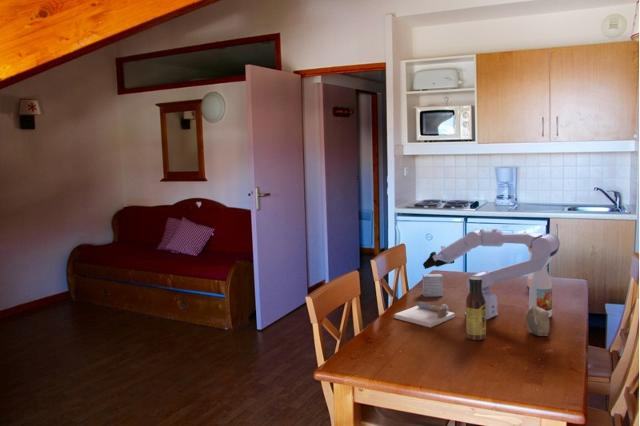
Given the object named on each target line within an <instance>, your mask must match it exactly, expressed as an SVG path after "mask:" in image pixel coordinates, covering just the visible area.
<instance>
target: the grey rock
mask: <svg viewBox="0 0 640 426" xmlns="http://www.w3.org/2000/svg"><path fill="white" fill-rule="evenodd" d="M548 315H549V313H548V312H547V311H546V310H544V309H542V308H539V307H537V306H532V308H531V309H530V310H529V309H528V310H527V313H526V316H525V320H526V325H527V326H526V327H527V330H528V332H529V333H531V334H532V335H534V336H537V337H539V336H540V337H543V336H546V337H547V336H549V335H548V333H549V332H550V317H549V316H548Z"/></svg>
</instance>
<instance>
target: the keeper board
mask: <svg viewBox="0 0 640 426" xmlns="http://www.w3.org/2000/svg"><path fill="white" fill-rule="evenodd" d="M429 309H431V310H429ZM433 310H435V311H433ZM437 311H438V312H437ZM455 317H456V313H455V312H452V311H448V314H446V307H442V306H441V305H436V304H433V305H432V306H429V307H428V309H425V308H420V307H418V305H415V306H412V307H410V308H407V309H404V310H402V311H399V312H396V313H394V319H397V320H401V321H405V322H409V323H413V324H416V325H420V326H423V327H426V328H432V327H434V326H437V325H440V324H441V323H444V322H447V321H450V320H451V319H454V318H455Z"/></svg>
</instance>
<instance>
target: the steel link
mask: <svg viewBox="0 0 640 426" xmlns="http://www.w3.org/2000/svg"><path fill="white" fill-rule="evenodd" d="M432 305H434V304H432V303H428V302H425V301H419V302H418V303H417V306H418V307H420V308H425V309H428V307H429V306H432ZM440 306H442V307H446V314H448V312H449V306H448V305H447V304H445V303H442V304H440ZM429 310H431V309H429ZM433 311H435V310H433ZM437 312H438V311H437Z"/></svg>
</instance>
